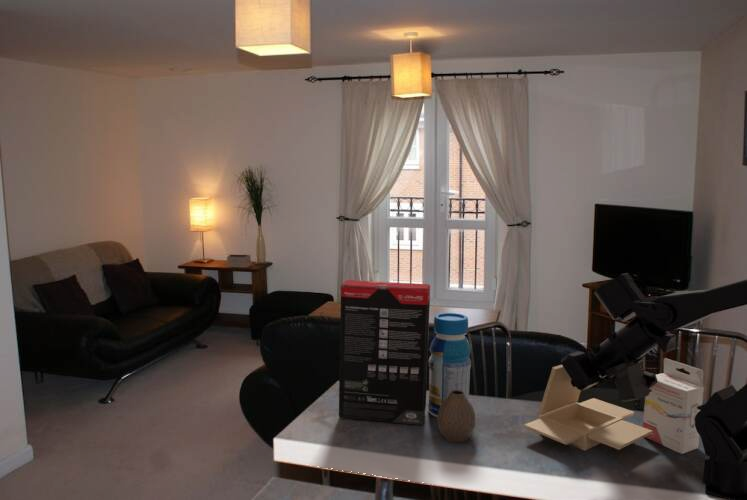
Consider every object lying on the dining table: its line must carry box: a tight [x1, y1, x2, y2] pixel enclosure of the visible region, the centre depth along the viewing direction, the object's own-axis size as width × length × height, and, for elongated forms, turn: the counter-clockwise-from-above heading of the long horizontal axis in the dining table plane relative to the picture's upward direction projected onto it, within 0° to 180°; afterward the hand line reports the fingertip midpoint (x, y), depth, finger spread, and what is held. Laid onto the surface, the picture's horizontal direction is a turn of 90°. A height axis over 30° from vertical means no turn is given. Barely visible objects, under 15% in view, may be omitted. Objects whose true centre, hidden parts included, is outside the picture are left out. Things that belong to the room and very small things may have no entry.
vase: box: [437, 390, 476, 443], centre depth 116 cm, size 7×7×9 cm
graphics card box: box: [338, 279, 431, 426], centre depth 124 cm, size 17×7×27 cm, turn 82°
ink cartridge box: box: [642, 357, 705, 455], centre depth 115 cm, size 9×5×15 cm, turn 29°
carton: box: [523, 397, 652, 452], centre depth 117 cm, size 16×22×3 cm
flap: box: [538, 364, 582, 416], centre depth 122 cm, size 1×12×10 cm, turn 129°
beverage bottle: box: [427, 312, 472, 419], centre depth 127 cm, size 8×8×20 cm
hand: (573, 384), depth 120 cm, fingers closed
